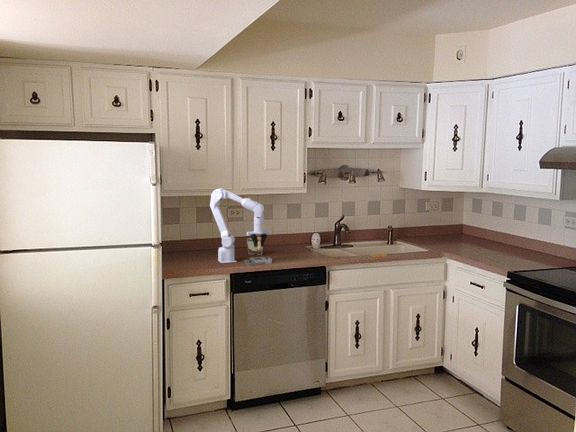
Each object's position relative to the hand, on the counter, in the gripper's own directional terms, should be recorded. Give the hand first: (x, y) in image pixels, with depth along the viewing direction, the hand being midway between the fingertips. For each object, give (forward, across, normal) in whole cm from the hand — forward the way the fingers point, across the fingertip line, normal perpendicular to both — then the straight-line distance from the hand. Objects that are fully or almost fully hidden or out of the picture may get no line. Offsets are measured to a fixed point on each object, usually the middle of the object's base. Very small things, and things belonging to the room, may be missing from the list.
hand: (258, 246), depth 306 cm
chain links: (+9, -1, -1) cm, 10 cm away
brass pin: (+2, 0, 0) cm, 3 cm away
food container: (+10, +8, +24) cm, 28 cm away
